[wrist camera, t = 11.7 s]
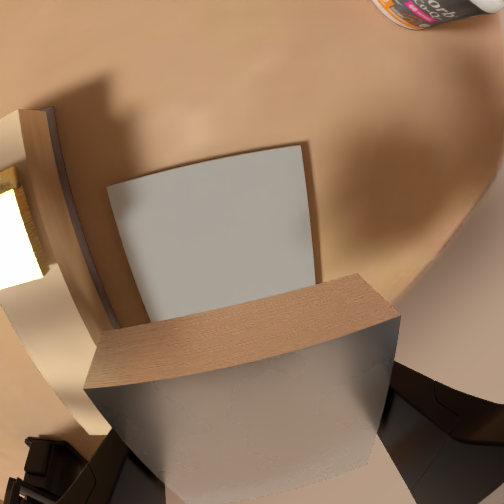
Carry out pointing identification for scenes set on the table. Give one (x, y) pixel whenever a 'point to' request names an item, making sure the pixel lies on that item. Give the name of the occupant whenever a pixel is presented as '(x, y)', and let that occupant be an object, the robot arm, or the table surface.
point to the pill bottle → (435, 11)
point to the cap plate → (251, 390)
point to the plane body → (55, 269)
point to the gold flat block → (18, 234)
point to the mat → (217, 232)
